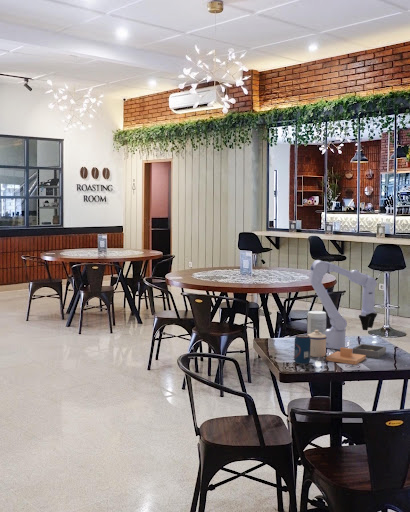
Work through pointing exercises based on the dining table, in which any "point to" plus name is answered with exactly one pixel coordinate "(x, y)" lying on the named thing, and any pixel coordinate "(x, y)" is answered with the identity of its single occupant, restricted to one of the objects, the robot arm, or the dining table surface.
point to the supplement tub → (316, 322)
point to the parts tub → (369, 350)
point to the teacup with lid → (317, 344)
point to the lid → (346, 356)
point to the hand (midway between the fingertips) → (367, 328)
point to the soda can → (302, 349)
